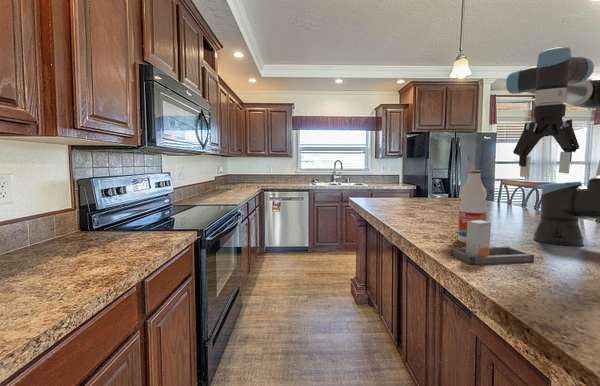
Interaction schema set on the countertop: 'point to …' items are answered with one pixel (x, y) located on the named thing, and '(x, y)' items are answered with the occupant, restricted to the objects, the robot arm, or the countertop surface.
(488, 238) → the skincare box
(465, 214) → the fruit juice
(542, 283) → the countertop surface
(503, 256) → the slide track
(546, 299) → the countertop surface
